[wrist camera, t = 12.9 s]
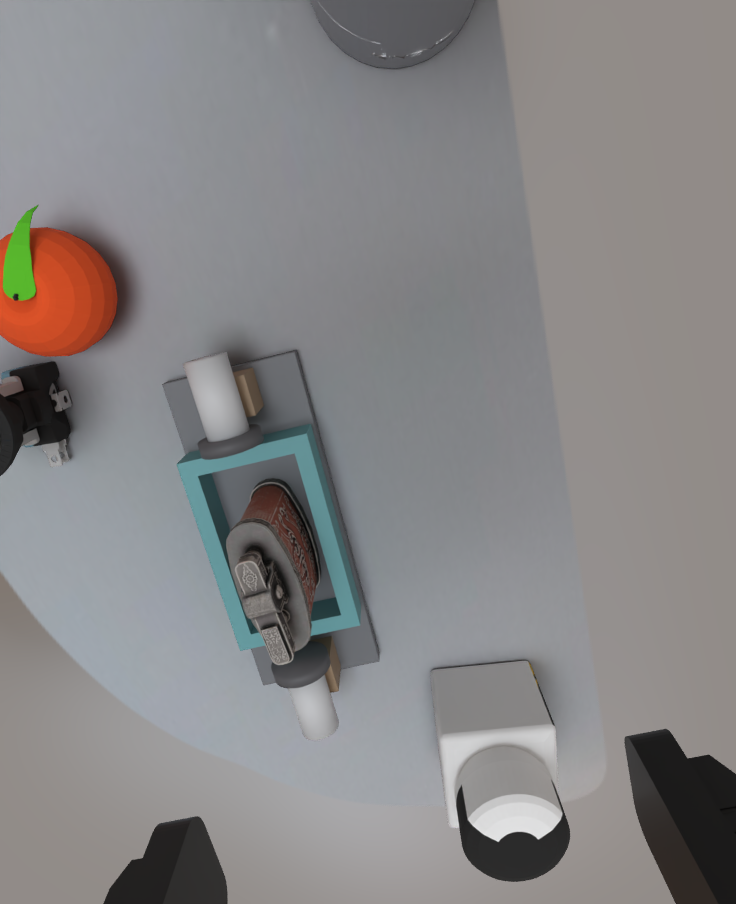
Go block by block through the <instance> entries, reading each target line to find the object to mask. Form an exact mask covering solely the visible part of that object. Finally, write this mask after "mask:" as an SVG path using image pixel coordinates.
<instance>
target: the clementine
mask: <svg viewBox="0 0 736 904" xmlns="http://www.w3.org/2000/svg"><path fill="white" fill-rule="evenodd" d="M37 207H38V205H37V206H35V207H34V208H32V209H30V210H29V211H27V212H26V213H25V214H24V216H23V217H22V218H21V219H20V221H19V222H18V223H17V225H16V228H15V230H14V232H13V233H11V234H8V235H7V236H5V237H4V238H3V239H1V240H0V335H1V336H2V337H3V338H5V339H6V340H7V341H8V342H10V343H11V344H13V345H15V346H17V347H19V348H21V349H23V350H25V351H27V352H29V353H32V354H37V355H41V356H70V355H73V354H76V353H79V352H82V351H85V350H86V349H88V348H89V347H90V346H92V345H93V344H95V343H96V342H98V341H99V340H101V339H102V338H103V336H104V335H105V334H106V332H107V331H108V330H109V329H110V327H111V325H112V322H113V320H114V317H115V315H116V308H117V300H118V298H117V291H116V284H115V281H114V278H113V276H112V273H111V271H110V268H109V266H108V265H107V264H106V262H105V261H104V259H103V258H102V257H101V255H100V254H99V253H98V252H97V251H96V250H95V249H94V248H92V247H91V246H90V245H89V244H88V243H87V242H85V241H83V240H81V239H79V238H77V237H75V236H74V235H72V234H69V233H67V232H65V231H60V230H56V229H52V228H48V227H47V228H30V223H31V219H32V214H33V212H34V211H35V210H36V208H37Z"/></svg>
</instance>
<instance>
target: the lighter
mask: <svg viewBox="0 0 736 904" xmlns="http://www.w3.org/2000/svg"><path fill="white" fill-rule="evenodd" d="M226 548H227V553H228V558H229V563H230V568H231V573H232V576H233V579H234V582H235V585H236V588H237V591H238V594H239V597H240V599H241V601H242V606H243V609H244V612H245V614H246V616H247V617H248V618H249V619H251V621H252V623H253V624H254V626H255V627H256V629H257V630H258V632H259V633H260V635H261V636H262V638H263V641H264V643H265V645H266V648H267V650H268V653H269V655H270V657H271V660H272V661H273V663H275V664H276V665H284V664H287V663H290V662H291V661H292V660H293V657H294V652H295V651H298V650H300V649H302V648H303V647H304V646H305V645H306V644H307V643H308V641H309V639H310V636H311V629H312V623H311V611H312V606H313V600H314V595H315V589H316V588H317V586H318V585H319V583H320V578H321V565H320V558H319V552H318V547H317V544H316V540H315V537H314V533H313V530H312V527H311V525H310V522H309V520H308V518H307V516H306V514H305V512H304V509H303V507H302V505H301V504H300V502H299V500H298V499H297V497H296V495H295V494H294V492H293V491H292V489H291V487H290V486H289V485H288V484H287V483H286V482H285V481H283V480H281V479H277V478H269V479H265V480H263V481H260V482H259V483H258V484H257V485H256V486H255V487H254V489H253V491H252V493H251V495H250V503H249V505H248V507H247V509H246V510H245V512H244V514H243V516H242V518H241V520H240V522H238V523H237V524H236V525H235V526H234V527H233V528H232V529H231V531H230V533H229V535H228V537H227V539H226Z"/></svg>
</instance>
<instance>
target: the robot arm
mask: <svg viewBox="0 0 736 904" xmlns="http://www.w3.org/2000/svg"><path fill="white" fill-rule="evenodd" d="M310 1H311V5H312V7H313V9H314V12H315V14H316V16H317V19H318V21H319V23H320V24H321V26H322V27H323V29H324V30H325V32H326V33H327V35H328V36H329V38H330V39H331V40H332V41H333V42H334V43H335V44H336V45H337V46H338V47H339V48H340V49H341V50H342V51H344V52H345V53H347V54H348V55H350V56H351V57H353V58H355V59H356V60H358V61H360V62H363V63H366V64H369V65H372V66H375V67H381V68H393V69H395V68H401V67H408V66H413V65H415V64H418V63H420V62H423V61H425V60H428V59H430V58H431V57H432V56H434V55H435V54H437V53H438V52H440V51H441V50H442V49H444V48H445V47H446V46H447V45H448V44H449V43H450V42H451V41H452V39H453V38H454V37H455V36H456V35H457V34H458V33H459V31H460V29H461V28H462V26H463V25H464V23H465V21H466V20H467V18H468V16H469V14H470V11H471V9H472V6H473V4H474V1H475V0H310ZM625 748H626V755H627V761H628V767H629V774H630V780H631V786H632V792H633V799H634V804H635V809H636V813H637V816H638V819H639V823H640V826H641V828H642V831H643V834H644V836H645V839H646V841H647V843H648V846H649V848H650V850H651V852H652V854H653V856H654V858H655V860H656V862H657V865H658V867H659V869H660V871H661V873H662V875H663V877H664V880H665V882H666V884H667V886H668V888H669V890H670V892H671V894H672V897H673V899H674V901H675V903H676V904H736V774H735V773H733V772H732V771H731V770H729V769H728V768H727V767H725V766H724V765H722V764H721V763H720V762H718V761H717V760H715V759H714V758H713V757H712V756H710V755H704V756H699V757H694V758H688V759H687V757H686V756H685V754H684V752H683V751H682V749H681V748H680V746H679V745H678V743H677V741H676V740H675V738H674V737H673V735H672V734H671V732H670V731H669V730H667V729H663V730H657V731H652V732H647V733H642V734H636V735H631V736H626V737H625ZM104 904H227V885H226V880H225V876H224V873H223V871H222V868H221V865H220V863H219V860H218V858H217V855H216V853H215V850H214V848H213V845H212V842H211V840H210V837H209V835H208V832H207V830H206V827H205V825H204V822H203V821H202V819H201V818H200V817H191V818H187V819H180V820H175V821H171V822H165V823H160V824H158V825H157V826H156V828H155V829H154V831H153V833H152V836H151V838H150V841H149V844H148V846H147V849H146V851H145V854H144V857H143V858H142V859H136V860H132V861H131V862H130V863H129V864H128V866H127V867H126V868H125V870H124V871H123V872H122V873H121V875H120V876H119V877H118V879H117V880H116V881H115V883H114V884H113V885H112V886H111V888H110V889H109V892H108V894H107V896H106V899H105V901H104Z"/></svg>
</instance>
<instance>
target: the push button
mask: <svg viewBox="0 0 736 904" xmlns="http://www.w3.org/2000/svg"><path fill="white" fill-rule="evenodd" d="M58 376H59V371H58V368H57V365H56V363H55V362H47V363H41V364H36V365H30V366H24V367H19V368H16V369H12V370H9V371H5V372H3V373H2V375H1V377H2V384H1V385H0V476H1V475H2V474H3V473H4V472H5V471H6V470H7V469H8V468H9V467H10V465H11V464H12V463H13V461H14V459H15V457H16V455H17V453H18V451H19V449H20V447H21V446H23V445H24V446H25V447H32V446H38V445H41V446H42V449H43V452H44V451H46V454H47V457H48V460H49V463H50V466H51V467H57V466H62V465H63V462H68V461H69V460H70V459H69V456H68V453H67V450H66V447H65V445H67V442H66V438H68V436H69V434H70V427H69V423H68V420H67V417H66V414H65V410H64V409H67V408H69V407H71V400H70V397H69V394H68V391H67V390H63V391H61V392H59V391H58V387H57V384H56V381H55V379H56V378H58ZM64 396H65V397H66V399H67V402H66V403H65V402H64ZM59 452H63V453H64V455H65V456H64V457H63V458H61V456H60V453H59ZM52 456H56V459H57V462H54V461H53V460H52Z"/></svg>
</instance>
